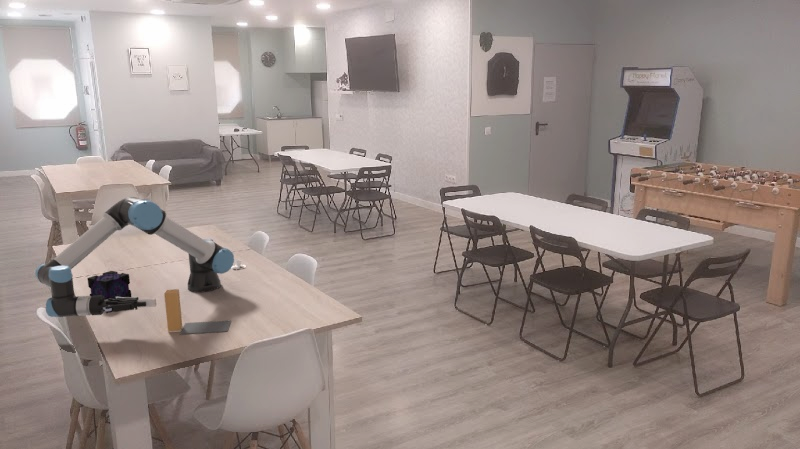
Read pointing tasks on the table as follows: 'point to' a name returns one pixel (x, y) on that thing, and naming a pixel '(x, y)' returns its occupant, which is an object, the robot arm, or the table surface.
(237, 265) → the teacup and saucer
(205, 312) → the table surface
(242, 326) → the table surface
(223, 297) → the table surface
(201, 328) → the mat
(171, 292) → the tall block
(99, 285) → the energy cube
